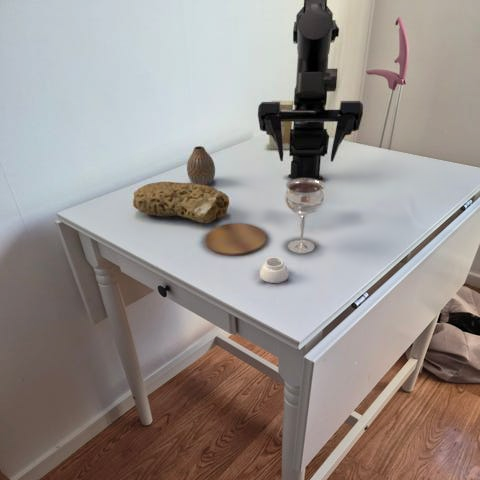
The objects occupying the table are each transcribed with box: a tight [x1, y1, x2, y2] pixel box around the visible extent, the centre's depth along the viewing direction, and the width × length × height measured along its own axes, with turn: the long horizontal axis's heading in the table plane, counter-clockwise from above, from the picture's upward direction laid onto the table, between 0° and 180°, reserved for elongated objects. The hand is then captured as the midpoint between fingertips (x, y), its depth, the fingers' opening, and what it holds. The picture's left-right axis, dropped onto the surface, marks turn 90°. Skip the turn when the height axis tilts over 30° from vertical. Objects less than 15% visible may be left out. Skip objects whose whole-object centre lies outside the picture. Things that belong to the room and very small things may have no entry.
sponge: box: [132, 181, 230, 224], centre depth 91 cm, size 13×8×20 cm
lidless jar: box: [259, 256, 290, 284], centre depth 72 cm, size 5×3×5 cm
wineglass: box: [284, 178, 325, 254], centre depth 77 cm, size 7×7×12 cm
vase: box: [186, 145, 216, 186], centre depth 104 cm, size 7×7×9 cm
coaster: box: [204, 223, 267, 256], centre depth 83 cm, size 12×12×1 cm
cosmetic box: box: [268, 100, 294, 150], centre depth 121 cm, size 6×4×12 cm
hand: (306, 160), depth 78 cm, fingers open, 9 cm apart
